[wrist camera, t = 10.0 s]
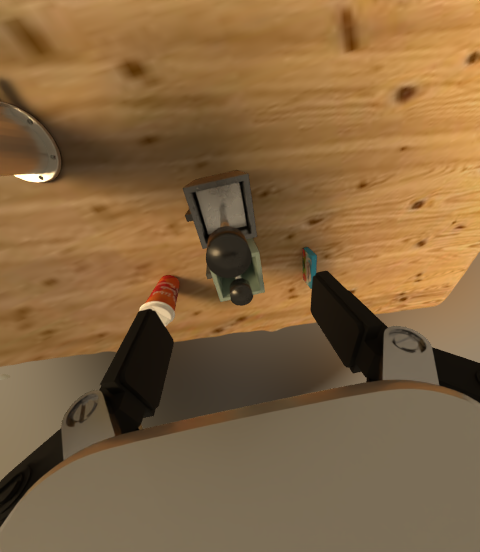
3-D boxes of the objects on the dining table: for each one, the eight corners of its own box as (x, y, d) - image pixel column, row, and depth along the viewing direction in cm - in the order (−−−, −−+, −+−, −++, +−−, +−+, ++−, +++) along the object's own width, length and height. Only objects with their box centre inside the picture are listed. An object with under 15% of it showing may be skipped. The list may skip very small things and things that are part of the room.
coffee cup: (188, 280, 56) (179, 314, 43) (175, 297, 59) (163, 333, 46) (163, 267, 52) (146, 299, 40) (150, 285, 55) (131, 321, 43)
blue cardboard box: (307, 277, 61) (315, 288, 55) (303, 278, 61) (311, 289, 55) (307, 246, 54) (316, 255, 49) (302, 247, 54) (311, 256, 49)
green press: (204, 233, 48) (198, 265, 33) (245, 224, 48) (259, 251, 33) (213, 264, 54) (212, 303, 39) (251, 256, 54) (264, 292, 39)
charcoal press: (187, 181, 41) (170, 191, 26) (236, 170, 41) (248, 173, 26) (200, 222, 47) (193, 250, 32) (244, 213, 46) (257, 236, 31)
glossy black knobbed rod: (215, 239, 46) (215, 284, 29) (244, 233, 46) (260, 274, 29) (222, 264, 50) (225, 316, 33) (248, 258, 50) (265, 307, 33)
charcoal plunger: (196, 191, 30) (169, 226, 13) (238, 181, 30) (267, 204, 13) (208, 233, 35) (200, 300, 17) (246, 224, 34) (274, 283, 17)
